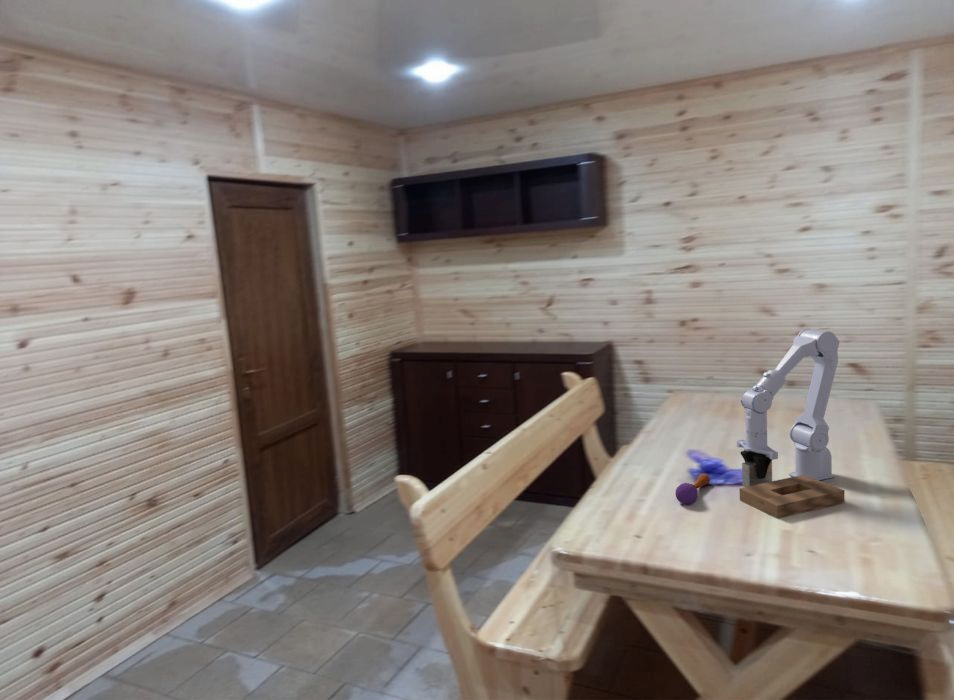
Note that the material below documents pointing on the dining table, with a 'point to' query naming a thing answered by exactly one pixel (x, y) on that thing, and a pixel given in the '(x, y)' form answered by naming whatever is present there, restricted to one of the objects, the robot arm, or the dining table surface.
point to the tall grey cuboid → (754, 474)
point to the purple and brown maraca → (691, 490)
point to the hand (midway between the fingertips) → (757, 476)
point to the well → (791, 496)
